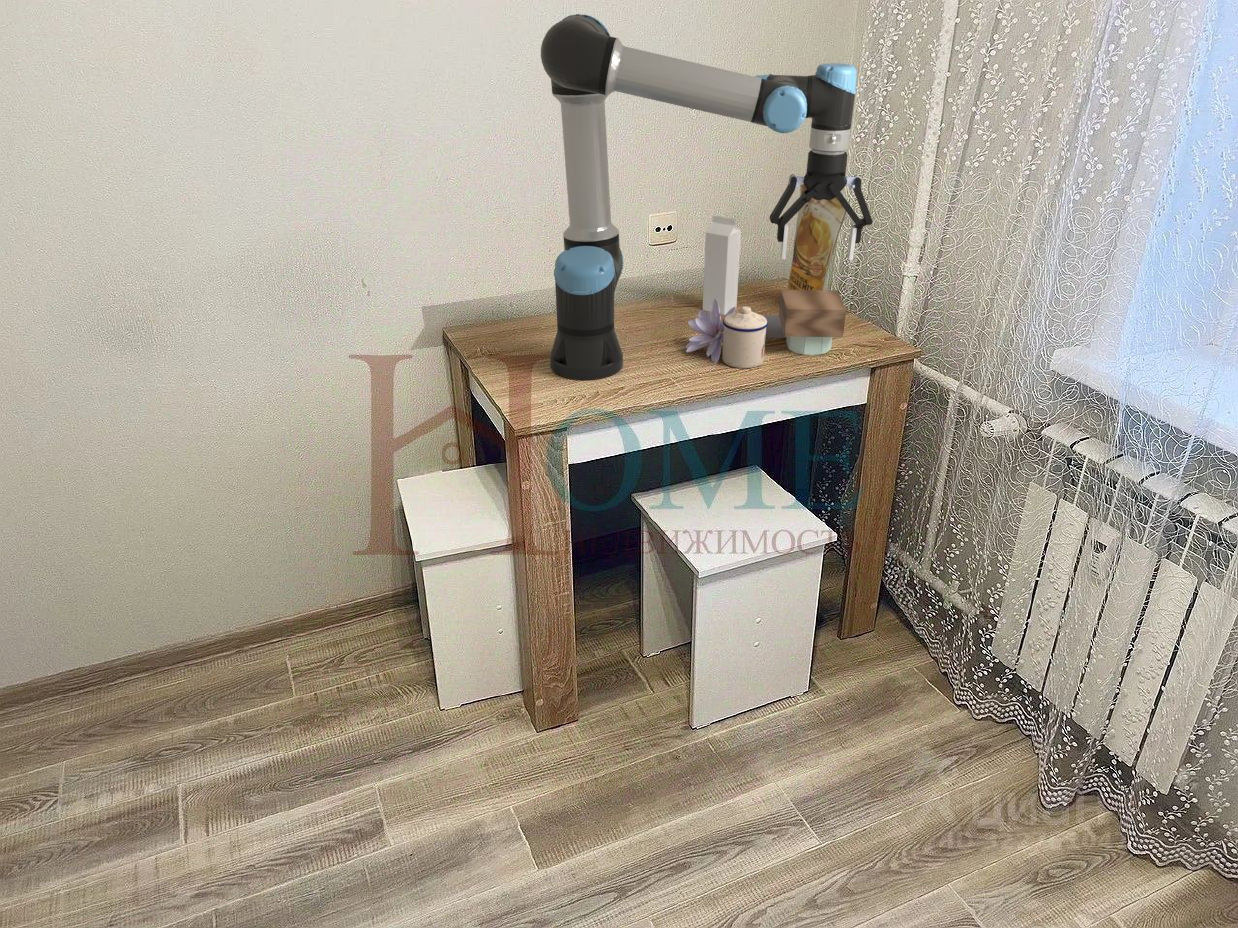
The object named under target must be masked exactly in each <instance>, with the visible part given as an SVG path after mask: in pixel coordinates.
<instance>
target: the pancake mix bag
mask: <svg viewBox="0 0 1238 928" xmlns="http://www.w3.org/2000/svg"><path fill="white" fill-rule="evenodd" d="M799 188H800V190H799V191H800V195H799V197H800V196H801V195H802V193H803V192H804V191H805V190H806V187H805V185H804V183H801V184H800V186H799ZM846 214H847V212H846V210H845V209H844V208H843V206H842V205H841V203H840V202H839V201H838V199H837V198H836V197H835V198H834V199H832V200H825V199H822V200H815V199H813V198H812V199H811V200H810V201H809V202H807V203H806V204H805V205H804V206H803V207H802V208H801V209H800V210H799V211H798V212H797V219H796V227H795V233H794V240H793V249H792V250H793V251H792V252H793V254H792V262H791V268H790V273H789V279H788V284H787V285H788V286H787V290H824V285H825V281H826V278H827V274H828V271H829V267H830V264H831V260H832V256H833V254H834V251H835V247H836V244H837V241H838V238H839V235H840V231H841V229H842V226H843V223H844V221H845V219H846Z"/></svg>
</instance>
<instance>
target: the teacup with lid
mask: <svg viewBox="0 0 1238 928" xmlns="http://www.w3.org/2000/svg"><path fill="white" fill-rule="evenodd" d="M762 315H763V314H760V313H756V312H754V311H752V308H751V307H750V306H742V307H741V309H740V310H739V311H735V312H734V313H731V314H729V315H727V316H726V317H725V316H724V317H725V318H724V317H723V319H724V320H722V322H723V324H724V331H723V333H724V334H723V343H722V352H721V354H722V355H721V356H722V357H721V360H722V361H723V363H724V364H725V365H728V366H730V367H733V368H736V369H737V368H738V369H752V368H756V367H758V366H761V365H762V364H763V363H764V360H765V348H766V338H765V336H766V327H767V325H768V323H767V320H766V318H765V317H764V316H762Z"/></svg>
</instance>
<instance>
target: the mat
mask: <svg viewBox="0 0 1238 928" xmlns="http://www.w3.org/2000/svg"><path fill="white" fill-rule="evenodd" d="M761 315H762V316H764V317H765V318H766V320H767V323H768V325H767V327H766V336H765V339H787V337H785V336H784V332H783V329H782V326H781V322H780V319H779V314H777V315H776V314H761Z"/></svg>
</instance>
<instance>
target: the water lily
mask: <svg viewBox="0 0 1238 928" xmlns="http://www.w3.org/2000/svg"><path fill="white" fill-rule="evenodd" d="M736 309H737V307H733V308H731V309H730V310H729V311H728V312H727V314H725V315H724V317H723V320H724V318H725V317H726V316H727V315H729V314H731V313H735V312H736ZM721 315H722V314H720V310H719V305H718V303H717V300H716V299H715V298H714V300H713V301H712V304H711V312H710V314H709V313H708V311H705V310H703V309H702V310H701V309H700V310H699V311H698V314H697V317H696V318H695V319H690V320H688V322H687V323H688V326H689V327H690V328H691V329H692V330H693V331H695V332H697V333H698V334H699V335H693V336H692V337H689V339H688V341H689V342H688V343H687V345H686V346H685V349H686V351H685V352H686V353H691V352H694V351H698V350H700V349H702V348H704V347H706V346H708V345H709V346H708V347H707V349H706V356H707V357H709V356H711V357H710V358H711V362H713V364H714V365H717V364H718V362H719V360H720V358H721V354H722V344H723V334H724V324H723V320H722V317H721Z"/></svg>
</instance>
